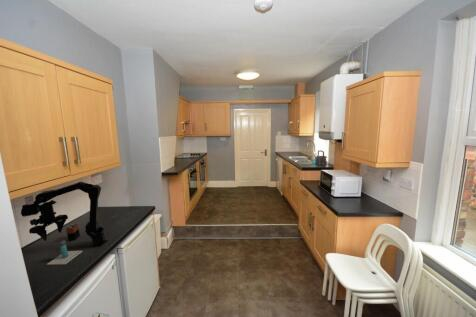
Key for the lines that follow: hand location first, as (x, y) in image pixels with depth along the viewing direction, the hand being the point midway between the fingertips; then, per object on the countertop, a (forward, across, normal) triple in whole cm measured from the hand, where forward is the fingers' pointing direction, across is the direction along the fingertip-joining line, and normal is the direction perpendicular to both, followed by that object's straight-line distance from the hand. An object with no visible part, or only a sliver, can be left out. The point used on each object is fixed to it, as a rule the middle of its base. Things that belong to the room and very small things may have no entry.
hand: (52, 236), depth 122 cm
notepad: (+12, +4, +10) cm, 16 cm away
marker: (+11, +4, +9) cm, 15 cm away
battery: (+12, -18, -5) cm, 22 cm away
